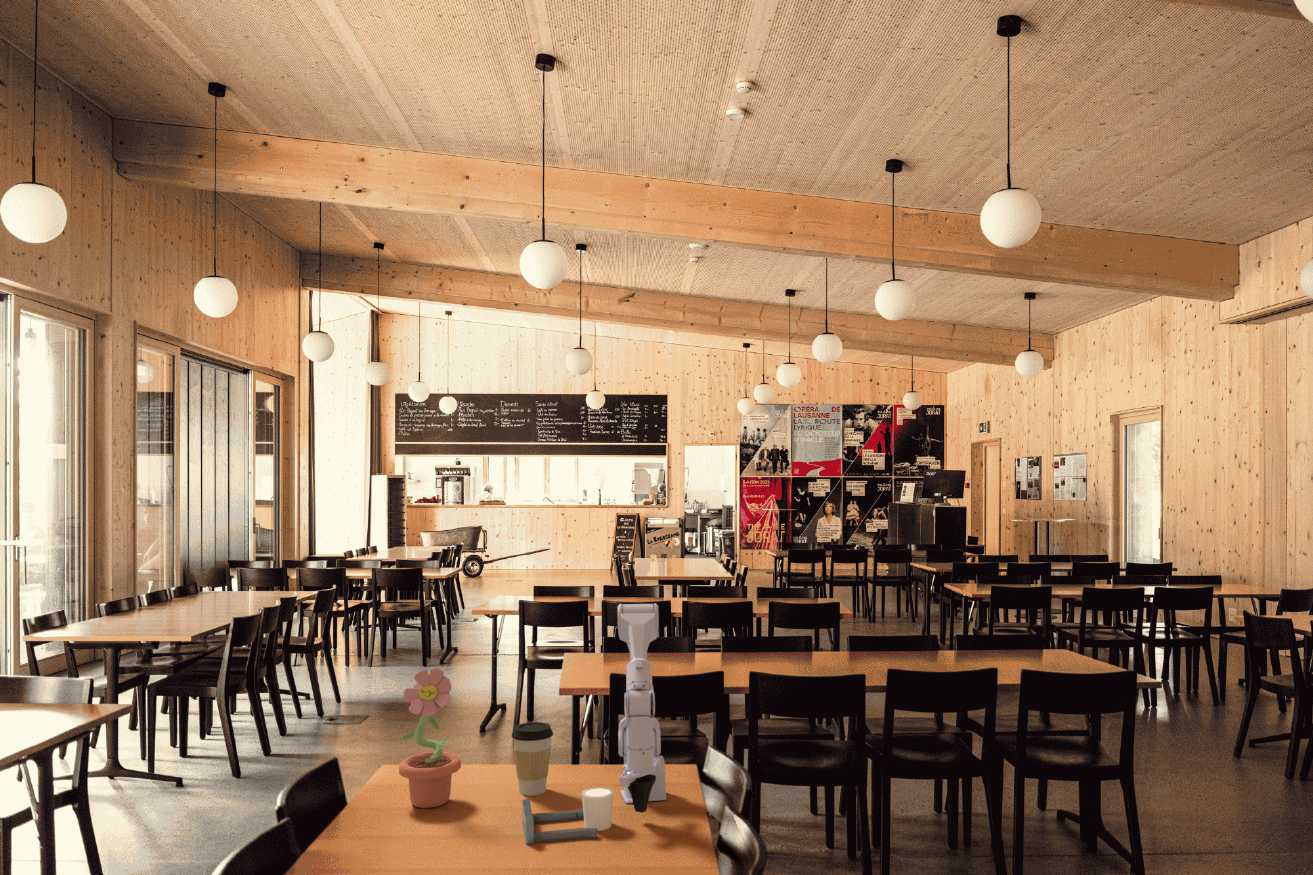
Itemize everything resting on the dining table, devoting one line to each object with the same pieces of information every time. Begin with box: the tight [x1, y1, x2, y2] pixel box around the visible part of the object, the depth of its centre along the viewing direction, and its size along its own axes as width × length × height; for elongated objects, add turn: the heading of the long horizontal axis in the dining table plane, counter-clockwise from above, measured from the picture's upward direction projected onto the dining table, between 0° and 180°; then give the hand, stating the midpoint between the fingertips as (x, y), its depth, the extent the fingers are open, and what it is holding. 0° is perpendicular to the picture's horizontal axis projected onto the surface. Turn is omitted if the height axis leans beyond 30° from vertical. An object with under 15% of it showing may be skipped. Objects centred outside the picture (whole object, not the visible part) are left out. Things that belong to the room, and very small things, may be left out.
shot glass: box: [581, 786, 614, 832], centre depth 187 cm, size 7×7×7 cm
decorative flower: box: [398, 668, 462, 809], centre depth 203 cm, size 15×14×30 cm
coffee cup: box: [511, 721, 554, 797], centre depth 209 cm, size 10×10×15 cm
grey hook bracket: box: [521, 798, 598, 845], centre depth 185 cm, size 15×14×4 cm
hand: (640, 811), depth 189 cm, fingers closed
